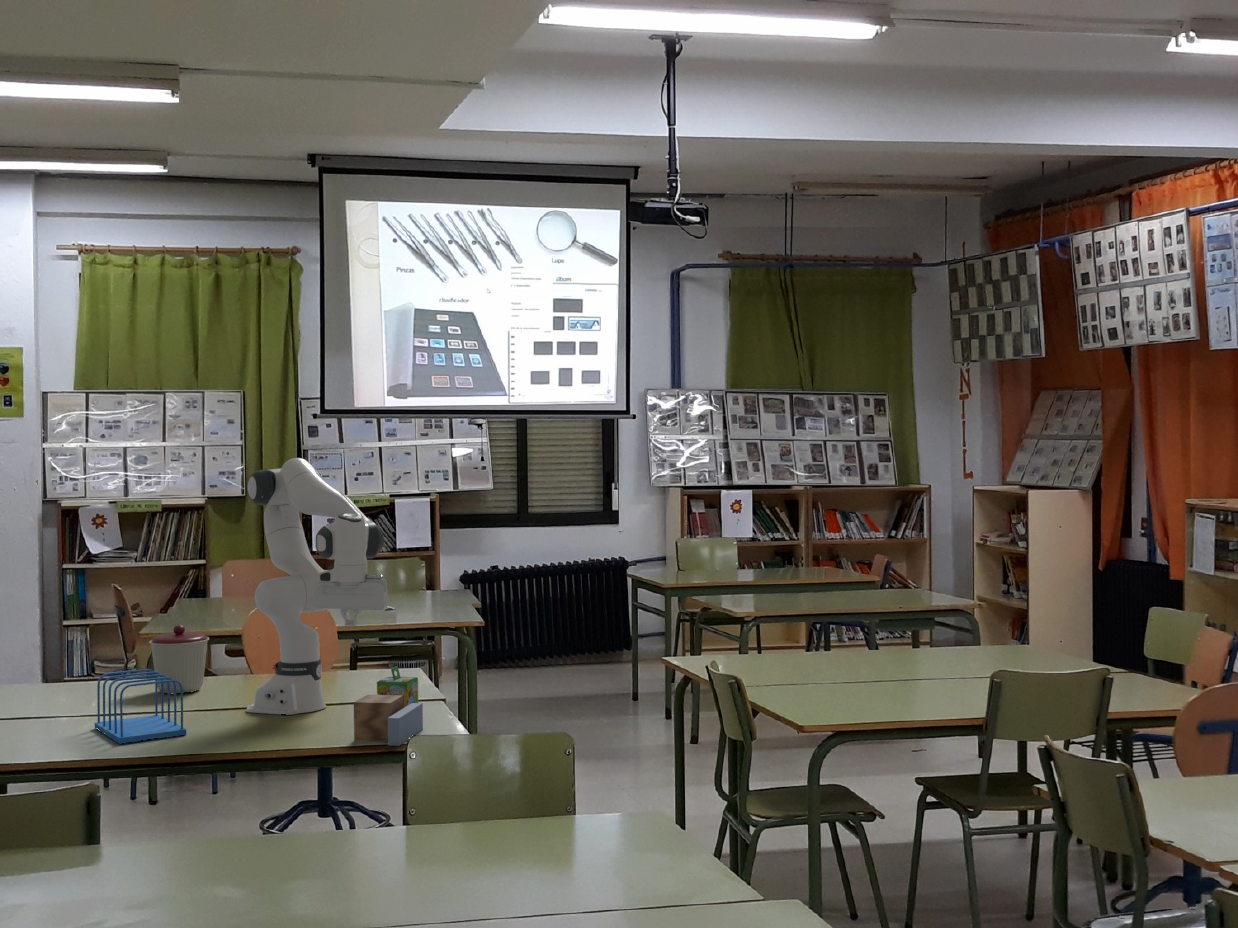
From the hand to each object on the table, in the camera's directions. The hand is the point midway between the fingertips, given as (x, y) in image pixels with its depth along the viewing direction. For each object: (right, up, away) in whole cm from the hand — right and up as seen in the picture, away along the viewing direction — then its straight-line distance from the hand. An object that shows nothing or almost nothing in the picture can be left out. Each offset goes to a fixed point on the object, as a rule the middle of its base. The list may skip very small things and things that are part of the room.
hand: (351, 625), depth 335 cm
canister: (-67, -29, +59) cm, 93 cm away
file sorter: (-57, -29, +1) cm, 64 cm away
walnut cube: (+9, -28, -8) cm, 31 cm away
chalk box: (+11, -28, +12) cm, 32 cm away
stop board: (+16, -28, -9) cm, 34 cm away
